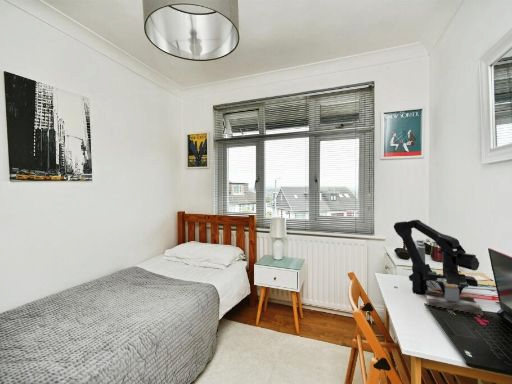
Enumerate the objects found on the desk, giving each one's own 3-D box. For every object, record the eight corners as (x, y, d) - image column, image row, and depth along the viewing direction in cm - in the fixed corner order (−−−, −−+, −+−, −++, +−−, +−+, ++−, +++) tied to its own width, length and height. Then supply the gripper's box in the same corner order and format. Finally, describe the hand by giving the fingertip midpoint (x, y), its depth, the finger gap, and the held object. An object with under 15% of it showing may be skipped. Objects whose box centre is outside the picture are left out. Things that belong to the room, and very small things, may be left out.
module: (445, 300, 113) (445, 287, 113) (443, 294, 119) (442, 282, 119) (459, 302, 111) (459, 289, 110) (456, 296, 117) (455, 283, 116)
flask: (428, 286, 135) (426, 243, 135) (418, 285, 137) (417, 242, 137) (422, 276, 151) (421, 237, 150) (414, 275, 153) (413, 236, 152)
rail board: (427, 306, 114) (427, 300, 114) (424, 295, 125) (424, 289, 125) (483, 316, 104) (483, 309, 104) (474, 303, 115) (474, 297, 115)
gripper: (428, 266, 112) (429, 299, 113) (481, 272, 103) (482, 307, 103) (425, 259, 122) (426, 290, 122) (473, 264, 113) (474, 297, 113)
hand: (450, 296), depth 115 cm, fingers closed on module, 5 cm apart
